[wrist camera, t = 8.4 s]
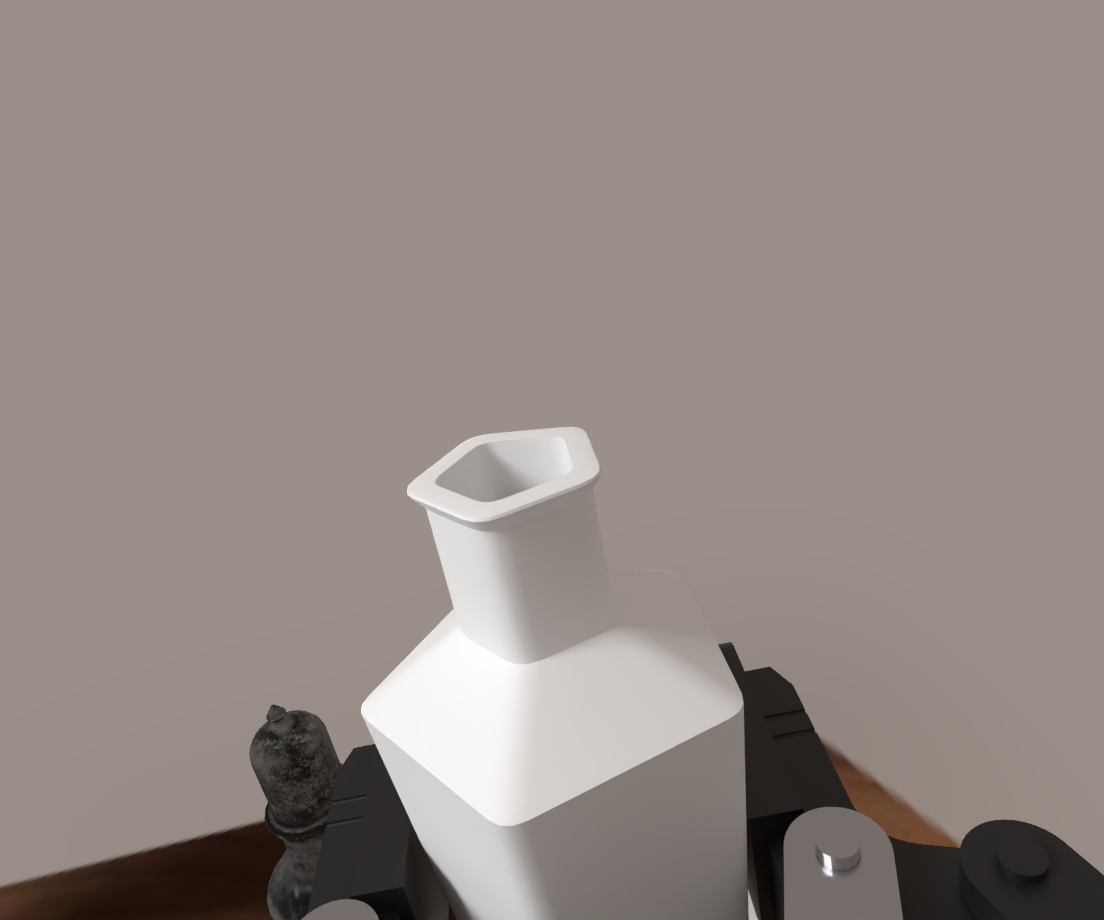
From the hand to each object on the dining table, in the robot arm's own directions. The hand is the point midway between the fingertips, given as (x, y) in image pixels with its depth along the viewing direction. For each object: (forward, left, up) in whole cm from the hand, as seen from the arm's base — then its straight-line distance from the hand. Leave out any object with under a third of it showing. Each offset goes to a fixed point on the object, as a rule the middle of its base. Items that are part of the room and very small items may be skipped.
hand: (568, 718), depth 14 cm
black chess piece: (-11, +13, -21) cm, 27 cm away
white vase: (0, -3, -9) cm, 10 cm away
